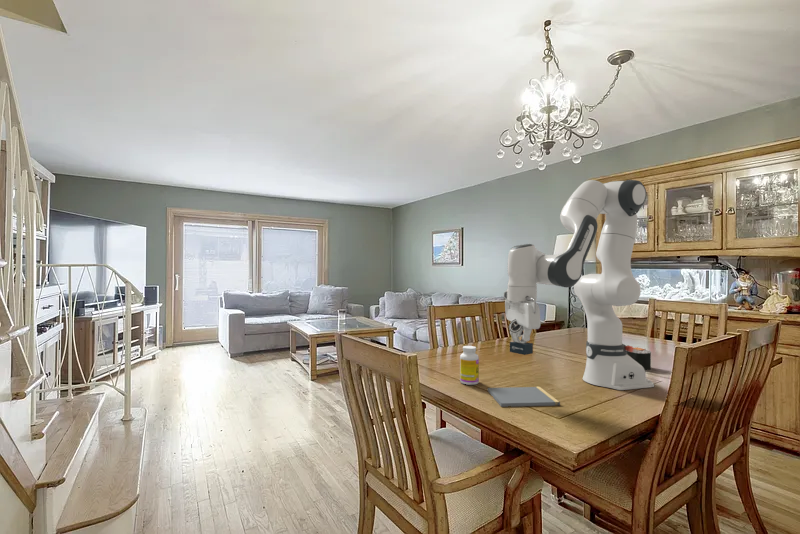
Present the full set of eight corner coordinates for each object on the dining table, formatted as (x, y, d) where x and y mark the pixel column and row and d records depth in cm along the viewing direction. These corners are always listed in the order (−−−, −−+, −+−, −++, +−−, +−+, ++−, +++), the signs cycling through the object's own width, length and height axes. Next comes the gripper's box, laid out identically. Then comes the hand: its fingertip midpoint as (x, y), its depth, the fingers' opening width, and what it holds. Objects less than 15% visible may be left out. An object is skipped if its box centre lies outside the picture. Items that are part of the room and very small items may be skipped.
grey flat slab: (539, 389, 127) (539, 386, 127) (559, 405, 113) (559, 401, 113) (487, 390, 126) (487, 387, 126) (501, 406, 112) (501, 403, 112)
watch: (505, 352, 119) (506, 318, 119) (520, 349, 124) (521, 316, 124) (521, 355, 115) (521, 319, 115) (536, 352, 119) (536, 318, 120)
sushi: (622, 366, 155) (622, 347, 155) (635, 364, 159) (635, 345, 159) (641, 371, 148) (642, 351, 148) (654, 369, 152) (655, 349, 151)
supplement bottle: (478, 386, 130) (478, 349, 130) (459, 385, 132) (459, 348, 132) (478, 380, 137) (478, 345, 137) (460, 379, 138) (460, 344, 138)
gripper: (546, 298, 109) (546, 345, 109) (519, 292, 129) (519, 332, 129) (525, 298, 108) (525, 345, 108) (501, 292, 129) (501, 332, 129)
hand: (521, 338), depth 119 cm, fingers closed on watch, 5 cm apart
